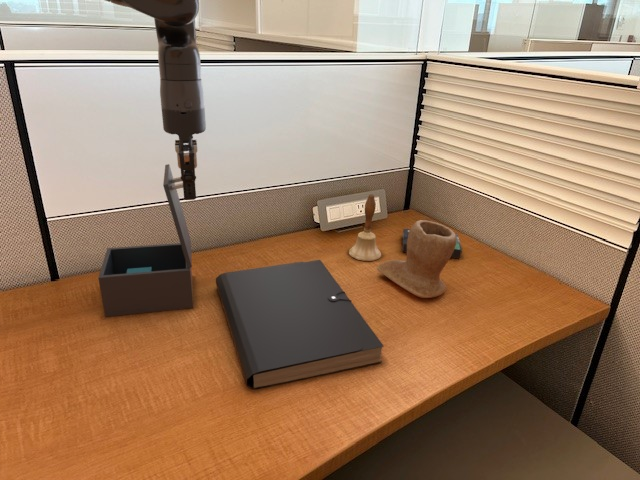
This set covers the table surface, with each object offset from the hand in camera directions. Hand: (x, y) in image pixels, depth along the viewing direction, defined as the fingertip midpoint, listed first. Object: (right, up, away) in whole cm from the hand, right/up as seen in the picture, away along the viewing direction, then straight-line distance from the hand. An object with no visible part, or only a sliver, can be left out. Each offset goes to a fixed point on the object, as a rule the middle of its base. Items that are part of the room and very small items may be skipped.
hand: (189, 193), depth 93 cm
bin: (-10, -21, +7) cm, 24 cm away
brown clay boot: (+47, -19, +17) cm, 54 cm away
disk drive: (+55, -11, +34) cm, 66 cm away
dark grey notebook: (+20, -25, +1) cm, 32 cm away
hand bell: (+37, -13, +29) cm, 49 cm away
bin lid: (-3, -4, +1) cm, 5 cm away
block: (-12, -20, +6) cm, 24 cm away
